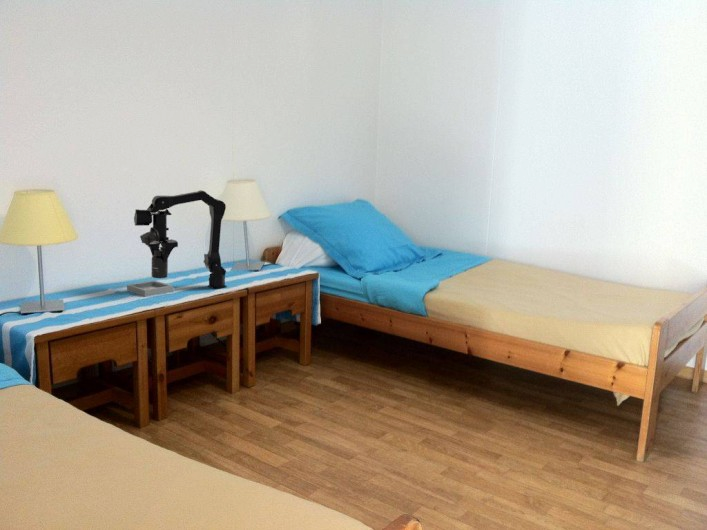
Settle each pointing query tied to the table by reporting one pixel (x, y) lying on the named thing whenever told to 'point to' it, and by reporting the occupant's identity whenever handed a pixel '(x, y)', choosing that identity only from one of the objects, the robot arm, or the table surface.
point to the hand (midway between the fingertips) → (159, 261)
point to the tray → (149, 288)
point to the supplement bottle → (159, 265)
